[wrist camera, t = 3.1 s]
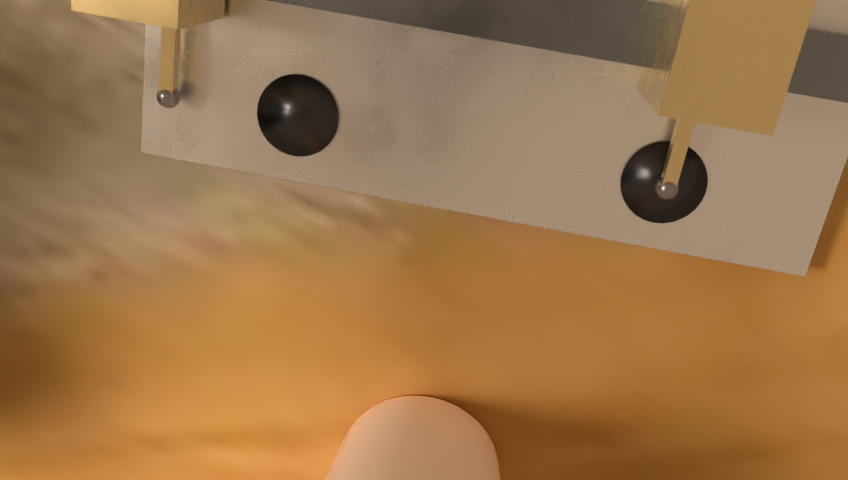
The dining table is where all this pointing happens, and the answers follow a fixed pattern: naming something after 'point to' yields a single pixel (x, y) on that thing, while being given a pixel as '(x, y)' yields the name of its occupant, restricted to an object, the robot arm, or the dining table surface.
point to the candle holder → (415, 444)
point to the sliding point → (171, 10)
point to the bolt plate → (533, 112)
